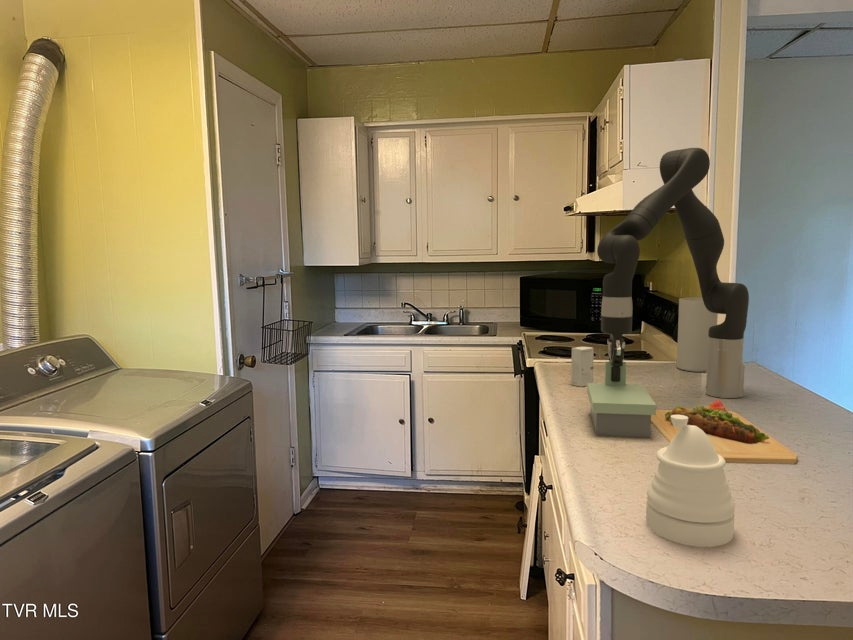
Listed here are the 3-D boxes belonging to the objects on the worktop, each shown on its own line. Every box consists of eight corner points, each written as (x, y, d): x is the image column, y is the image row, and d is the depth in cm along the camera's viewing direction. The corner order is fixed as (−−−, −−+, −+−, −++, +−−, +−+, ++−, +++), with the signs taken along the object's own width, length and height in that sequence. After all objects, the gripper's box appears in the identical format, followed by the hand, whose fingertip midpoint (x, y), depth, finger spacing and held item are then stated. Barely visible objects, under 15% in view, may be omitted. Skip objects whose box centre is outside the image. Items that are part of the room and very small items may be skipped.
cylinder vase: (673, 370, 208) (675, 300, 205) (680, 364, 219) (683, 297, 215) (711, 374, 201) (715, 301, 198) (717, 367, 211) (721, 298, 208)
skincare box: (580, 387, 186) (581, 349, 185) (570, 384, 190) (570, 347, 188) (594, 384, 190) (594, 347, 188) (583, 382, 193) (584, 345, 192)
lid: (642, 393, 152) (642, 361, 151) (655, 415, 133) (657, 378, 132) (587, 391, 155) (587, 360, 154) (592, 412, 136) (593, 377, 135)
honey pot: (645, 539, 91) (649, 426, 88) (646, 504, 103) (649, 404, 100) (739, 553, 86) (745, 434, 84) (728, 515, 98) (733, 410, 96)
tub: (638, 418, 152) (639, 388, 151) (650, 441, 135) (651, 407, 134) (590, 416, 155) (590, 386, 154) (596, 438, 137) (596, 405, 136)
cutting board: (641, 416, 157) (641, 388, 156) (733, 417, 154) (734, 389, 153) (683, 464, 122) (684, 429, 121) (802, 467, 120) (805, 431, 119)
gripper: (636, 317, 142) (634, 387, 145) (628, 311, 155) (626, 375, 158) (603, 317, 144) (602, 386, 146) (599, 311, 157) (597, 374, 159)
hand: (615, 380), depth 152 cm, fingers closed on lid, 1 cm apart
